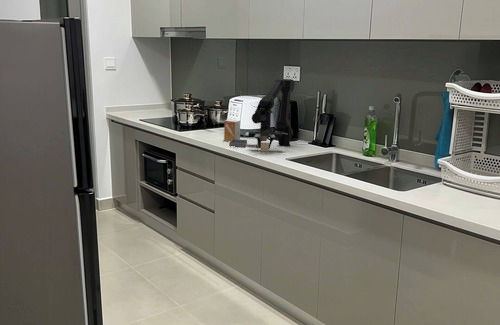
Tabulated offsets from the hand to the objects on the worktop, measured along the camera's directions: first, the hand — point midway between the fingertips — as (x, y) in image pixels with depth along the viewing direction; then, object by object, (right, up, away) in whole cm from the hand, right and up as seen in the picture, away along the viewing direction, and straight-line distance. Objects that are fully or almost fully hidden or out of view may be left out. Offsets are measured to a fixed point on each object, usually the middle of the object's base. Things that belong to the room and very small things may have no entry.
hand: (264, 148), depth 275 cm
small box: (-20, +5, +27) cm, 34 cm away
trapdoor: (-5, +6, +13) cm, 15 cm away
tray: (-16, +2, +14) cm, 21 cm away
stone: (0, -1, 0) cm, 1 cm away
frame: (-1, +2, +13) cm, 13 cm away
